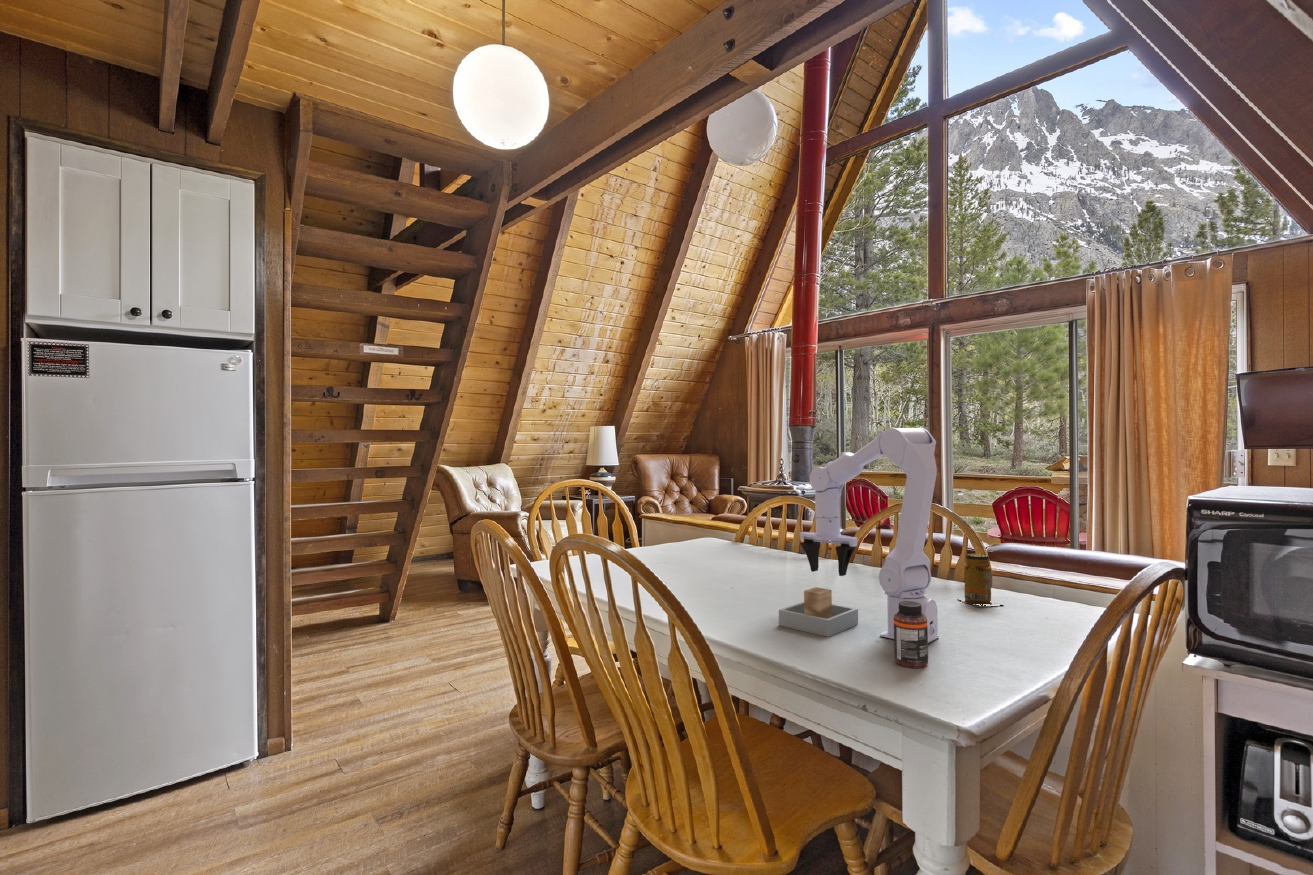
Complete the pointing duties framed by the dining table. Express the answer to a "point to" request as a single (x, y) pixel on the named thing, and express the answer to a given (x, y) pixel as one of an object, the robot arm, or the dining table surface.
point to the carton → (818, 602)
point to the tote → (818, 619)
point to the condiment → (977, 580)
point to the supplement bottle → (910, 635)
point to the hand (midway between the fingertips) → (828, 573)
